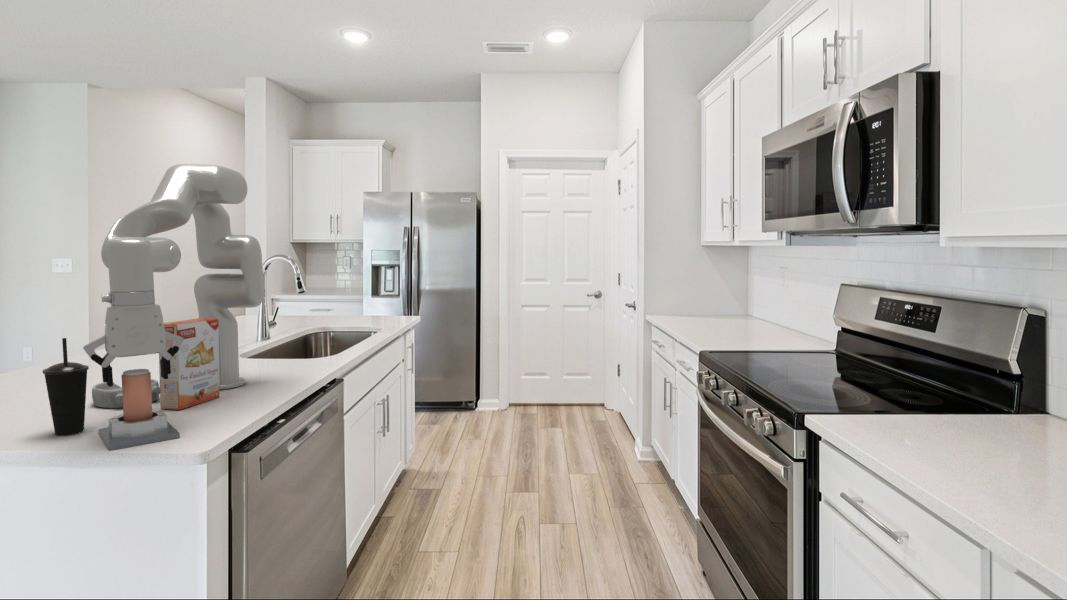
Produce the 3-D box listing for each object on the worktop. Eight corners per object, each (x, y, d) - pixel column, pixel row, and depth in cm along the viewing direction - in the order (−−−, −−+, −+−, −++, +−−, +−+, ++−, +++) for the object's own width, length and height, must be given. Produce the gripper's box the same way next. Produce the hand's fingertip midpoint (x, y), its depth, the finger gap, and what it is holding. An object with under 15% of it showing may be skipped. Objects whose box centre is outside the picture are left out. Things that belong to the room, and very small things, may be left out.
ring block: (98, 433, 126) (97, 414, 126) (164, 422, 134) (163, 405, 134) (109, 450, 116) (108, 430, 116) (179, 437, 124) (179, 418, 124)
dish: (87, 402, 151) (85, 383, 151) (150, 393, 161) (149, 375, 161) (101, 414, 142) (99, 393, 141) (167, 403, 152) (166, 383, 151)
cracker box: (180, 411, 144) (177, 324, 142) (159, 409, 145) (155, 323, 143) (222, 397, 158) (219, 317, 156) (202, 395, 159) (199, 317, 157)
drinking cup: (62, 427, 131) (57, 335, 129) (100, 426, 131) (95, 335, 129) (36, 438, 123) (30, 341, 121) (76, 437, 124) (71, 341, 122)
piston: (122, 430, 125) (119, 370, 124) (150, 425, 129) (147, 367, 128) (126, 436, 122) (123, 374, 121) (155, 431, 125) (152, 371, 124)
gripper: (82, 304, 114) (89, 392, 116) (185, 298, 126) (189, 378, 128) (77, 300, 120) (83, 384, 122) (176, 295, 132) (180, 372, 133)
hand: (137, 381), depth 125 cm, fingers open, 9 cm apart
